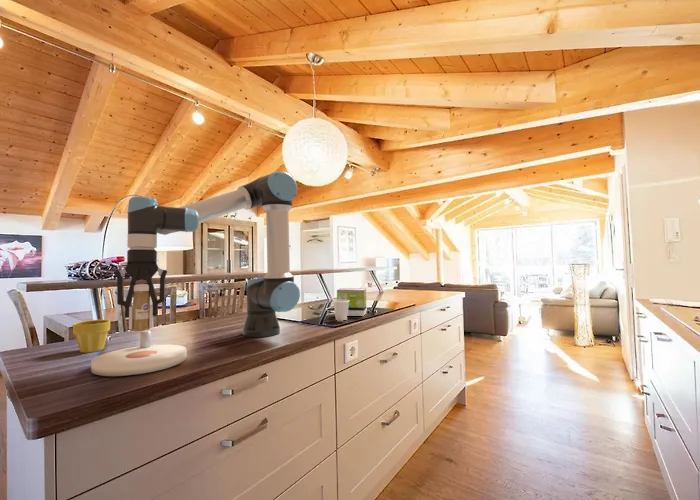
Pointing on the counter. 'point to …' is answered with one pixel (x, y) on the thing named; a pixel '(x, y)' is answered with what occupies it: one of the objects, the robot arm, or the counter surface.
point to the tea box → (354, 300)
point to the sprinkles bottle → (141, 307)
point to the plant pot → (91, 334)
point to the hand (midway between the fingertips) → (141, 327)
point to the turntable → (138, 358)
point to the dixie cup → (341, 309)
